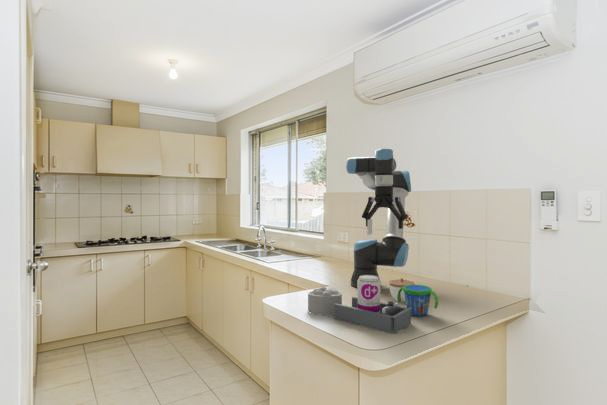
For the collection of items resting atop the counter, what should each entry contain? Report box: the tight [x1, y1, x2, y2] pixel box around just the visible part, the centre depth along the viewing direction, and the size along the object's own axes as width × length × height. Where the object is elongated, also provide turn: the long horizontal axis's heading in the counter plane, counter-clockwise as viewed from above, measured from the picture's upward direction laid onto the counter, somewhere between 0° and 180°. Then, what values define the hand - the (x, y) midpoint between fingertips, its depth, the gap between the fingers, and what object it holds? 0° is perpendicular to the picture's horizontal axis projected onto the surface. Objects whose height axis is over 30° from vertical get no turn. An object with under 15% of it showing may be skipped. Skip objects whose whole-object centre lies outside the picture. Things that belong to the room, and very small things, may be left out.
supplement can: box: [356, 275, 381, 313], centre depth 135 cm, size 8×8×15 cm
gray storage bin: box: [334, 296, 412, 335], centre depth 134 cm, size 24×13×6 cm, turn 50°
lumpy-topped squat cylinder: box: [307, 286, 343, 316], centre depth 147 cm, size 10×13×9 cm
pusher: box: [382, 300, 400, 316], centre depth 129 cm, size 2×10×7 cm, turn 140°
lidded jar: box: [389, 278, 416, 303], centre depth 162 cm, size 11×11×9 cm
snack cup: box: [397, 284, 439, 317], centre depth 143 cm, size 16×10×10 cm
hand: (383, 235), depth 157 cm, fingers open, 13 cm apart
